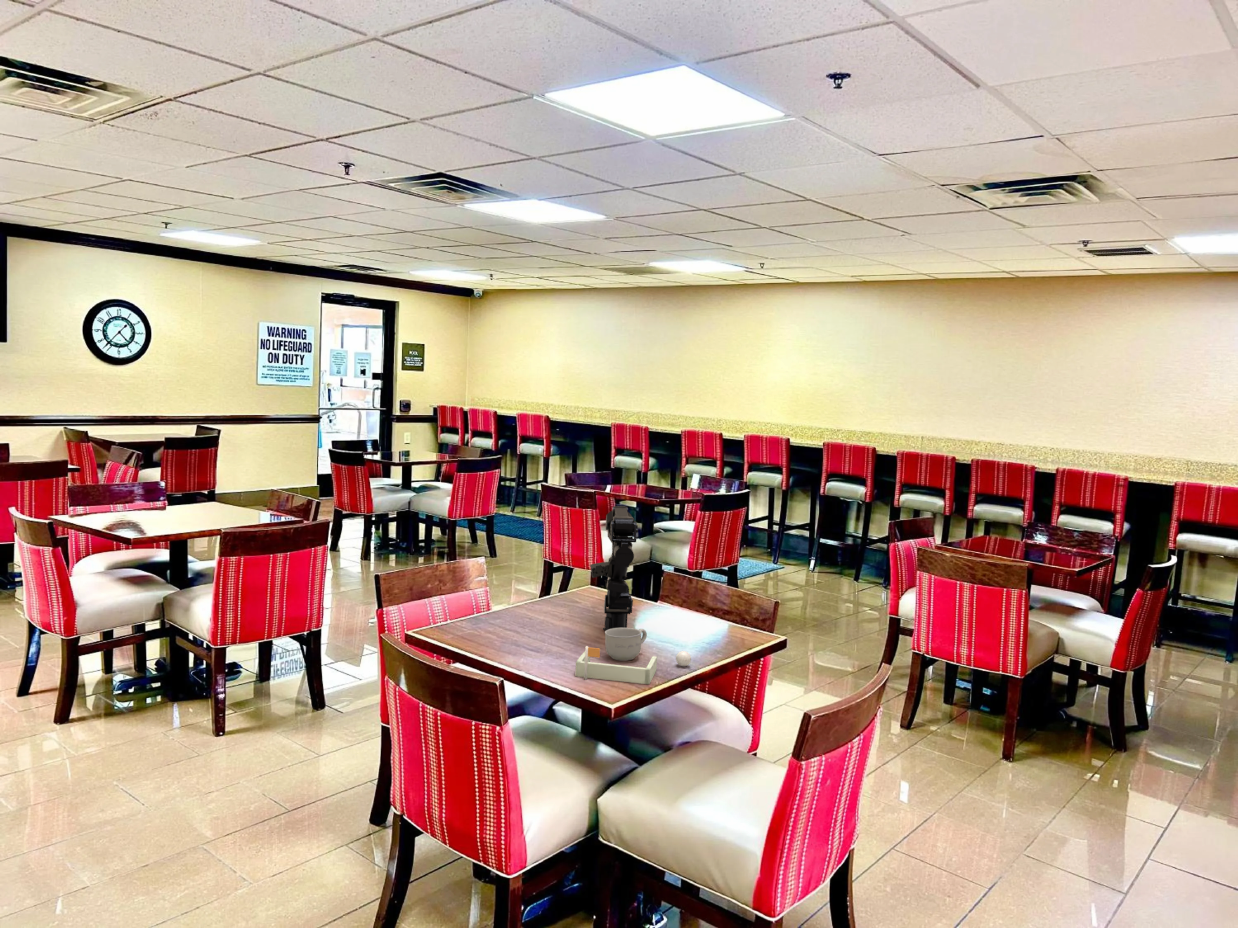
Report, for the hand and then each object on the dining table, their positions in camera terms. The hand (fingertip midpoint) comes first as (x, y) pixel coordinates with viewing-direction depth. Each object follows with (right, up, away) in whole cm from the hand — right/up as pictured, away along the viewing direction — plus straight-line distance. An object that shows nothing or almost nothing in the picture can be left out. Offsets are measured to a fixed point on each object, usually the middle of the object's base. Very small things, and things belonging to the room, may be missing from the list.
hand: (610, 605), depth 271 cm
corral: (+2, -14, -30) cm, 33 cm away
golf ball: (+21, -12, -20) cm, 32 cm away
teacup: (+5, -13, -14) cm, 20 cm away
